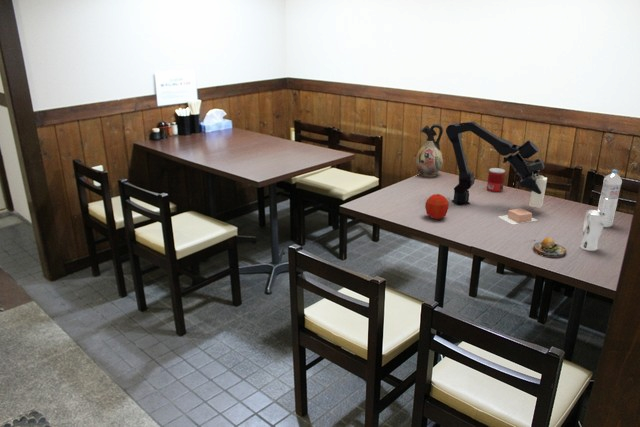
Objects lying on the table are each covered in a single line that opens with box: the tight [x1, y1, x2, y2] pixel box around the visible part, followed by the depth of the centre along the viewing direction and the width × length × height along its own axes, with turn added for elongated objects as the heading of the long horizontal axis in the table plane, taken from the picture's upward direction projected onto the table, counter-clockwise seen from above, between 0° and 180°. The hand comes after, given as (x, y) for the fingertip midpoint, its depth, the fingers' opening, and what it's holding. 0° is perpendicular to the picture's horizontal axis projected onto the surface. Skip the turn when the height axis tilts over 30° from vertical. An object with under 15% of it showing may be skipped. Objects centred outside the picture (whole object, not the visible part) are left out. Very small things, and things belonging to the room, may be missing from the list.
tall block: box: [528, 174, 548, 209], centre depth 232 cm, size 5×5×14 cm
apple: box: [424, 193, 450, 220], centre depth 231 cm, size 10×10×12 cm
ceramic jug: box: [414, 123, 444, 178], centre depth 289 cm, size 17×15×30 cm
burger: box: [532, 237, 567, 259], centre depth 199 cm, size 12×12×8 cm
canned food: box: [486, 167, 506, 193], centre depth 267 cm, size 8×8×11 cm
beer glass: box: [579, 209, 606, 252], centre depth 200 cm, size 7×7×15 cm
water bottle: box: [597, 169, 623, 229], centre depth 220 cm, size 7×7×25 cm
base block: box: [507, 207, 533, 224], centre depth 227 cm, size 7×7×4 cm
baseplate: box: [497, 214, 538, 225], centre depth 229 cm, size 14×10×1 cm
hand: (541, 192), depth 231 cm, fingers closed on tall block, 5 cm apart
